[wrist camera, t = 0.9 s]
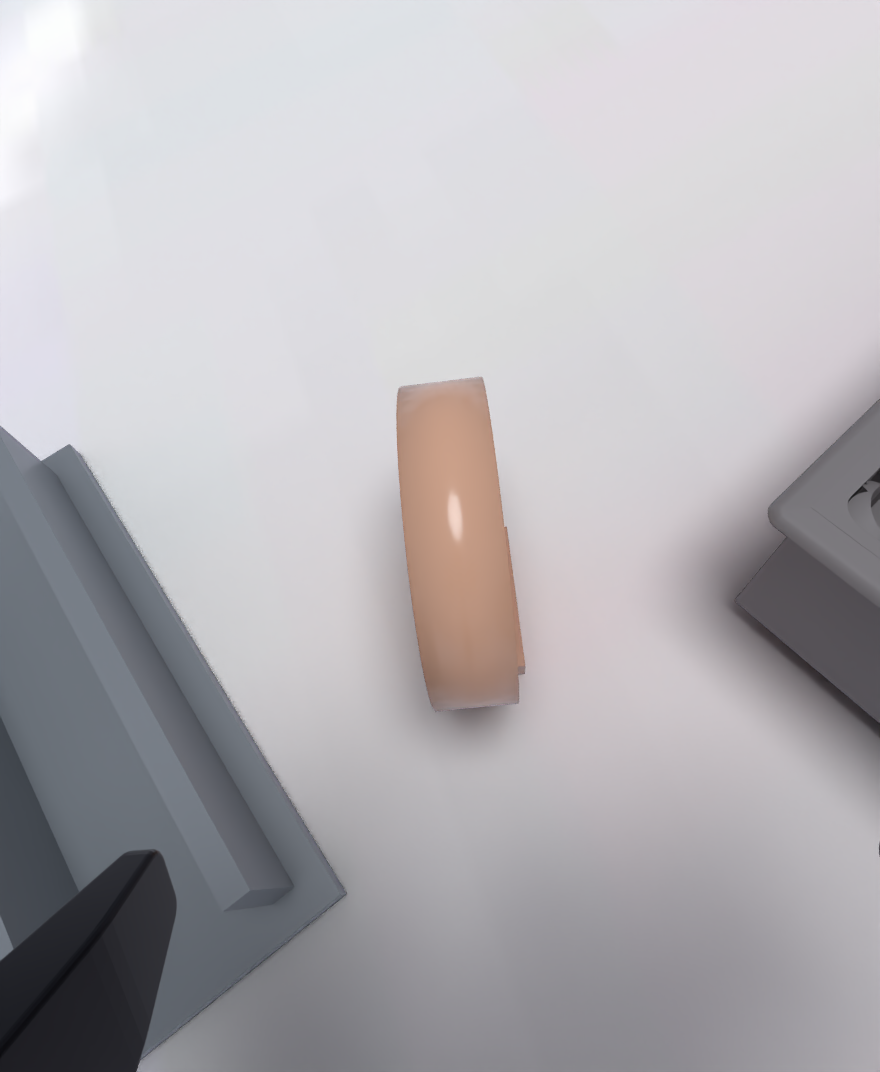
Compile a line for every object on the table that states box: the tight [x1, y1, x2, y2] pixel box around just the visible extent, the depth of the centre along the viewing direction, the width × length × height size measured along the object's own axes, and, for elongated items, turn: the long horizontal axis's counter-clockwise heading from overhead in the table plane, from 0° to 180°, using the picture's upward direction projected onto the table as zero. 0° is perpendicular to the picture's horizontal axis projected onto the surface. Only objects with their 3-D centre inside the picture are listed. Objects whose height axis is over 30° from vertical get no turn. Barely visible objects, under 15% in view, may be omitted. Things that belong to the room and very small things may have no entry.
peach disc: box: [396, 377, 525, 712], centre depth 21 cm, size 9×3×10 cm, turn 5°
